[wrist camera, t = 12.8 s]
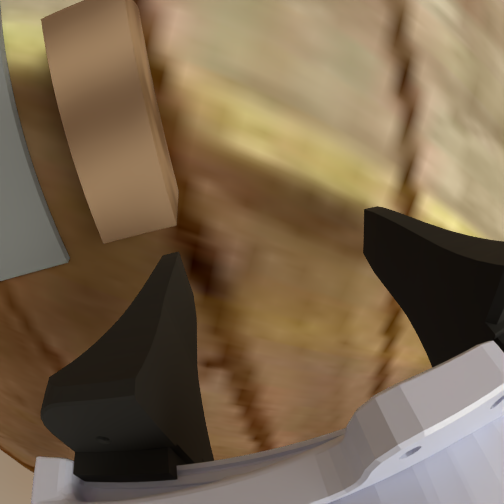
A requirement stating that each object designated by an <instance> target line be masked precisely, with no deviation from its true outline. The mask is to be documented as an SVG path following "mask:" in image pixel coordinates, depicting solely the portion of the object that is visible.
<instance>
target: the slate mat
mask: <svg viewBox="0 0 504 504" xmlns="http://www.w3.org/2000/svg"><path fill="white" fill-rule="evenodd" d="M69 259H70V257H69V255H68V253H67V251H66V248H65V246H64V244H63V242H62V240H61V237H60V235H59V233H58V230H57V228H56V226H55V223H54V221H53V218H52V216H51V213H50V211H49V208H48V206H47V203H46V201H45V198H44V195H43V193H42V190H41V187H40V184H39V182H38V179H37V176H36V173H35V170H34V167H33V164H32V161H31V158H30V155H29V151H28V148H27V145H26V141H25V138H24V135H23V131H22V127H21V124H20V120H19V116H18V112H17V108H16V104H15V99H14V95H13V90H12V86H11V81H10V76H9V70H8V65H7V59H6V52H5V45H4V38H3V30H2V20H1V8H0V281H3V280H6V279H10V278H13V277H17V276H20V275H24V274H28V273H31V272H35V271H39V270H42V269H46V268H50V267H53V266H57V265H61V264H65V263H68V261H69Z"/></svg>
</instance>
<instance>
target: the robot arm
mask: <svg viewBox="0 0 504 504" xmlns="http://www.w3.org/2000/svg"><path fill="white" fill-rule="evenodd" d="M363 253H364V255H365V257H366V259H367V261H368V262H369V264H370V266H371V268H372V269H373V271H374V273H375V274H376V275H377V277H378V278H379V279H380V280H381V282H382V283H383V284H384V286H385V287H386V288H387V290H388V291H389V292H390V293H391V295H392V296H393V297H394V299H395V300H396V301H397V303H398V304H399V305H400V307H401V308H402V309H403V311H404V312H405V314H406V315H407V317H408V318H409V320H410V322H411V324H412V326H413V327H414V329H415V331H416V333H417V335H418V337H419V339H420V341H421V343H422V345H423V347H424V349H425V351H426V353H427V355H428V358H429V360H430V362H431V365H432V367H433V368H431V369H429V370H426V371H424V372H422V373H420V374H418V375H415V376H413V377H411V378H409V379H406V380H404V381H402V382H399V383H397V384H395V385H393V386H391V387H389V388H387V389H385V390H384V391H382V392H380V393H378V394H376V395H374V396H373V397H372V398H370V399H369V400H368V401H367V402H365V403H364V404H363V405H362V406H360V407H359V408H358V409H357V410H356V412H355V413H354V415H353V416H352V418H351V419H350V421H349V423H348V425H347V427H346V428H344V429H341V430H338V431H335V432H332V433H329V434H326V435H323V436H319V437H316V438H313V439H309V440H306V441H302V442H299V443H295V444H291V445H288V446H284V447H280V448H276V449H271V450H267V451H263V452H258V453H254V454H249V455H244V456H239V457H233V458H228V459H222V460H216V461H214V458H213V454H212V450H211V446H210V441H209V436H208V432H207V427H206V422H205V417H204V411H203V405H202V400H201V393H200V387H199V380H198V370H197V320H196V310H195V303H194V296H193V292H192V289H191V287H190V284H189V281H188V278H187V275H186V272H185V269H184V266H183V263H182V260H181V257H180V254H179V252H175V253H171V254H167V255H163V256H162V258H161V259H160V261H159V262H158V264H157V266H156V267H155V269H154V271H153V272H152V274H151V275H150V277H149V279H148V280H147V282H146V283H145V285H144V287H143V288H142V290H141V291H140V292H139V294H138V295H137V297H136V298H135V299H134V301H133V302H132V304H131V305H130V306H129V308H128V309H127V310H126V311H125V313H124V314H123V315H122V316H121V317H120V318H119V320H118V321H117V322H116V323H115V324H114V325H113V326H112V327H111V328H110V329H109V330H108V331H107V332H106V333H105V334H104V335H103V336H102V337H101V338H100V339H99V340H98V341H97V342H96V343H95V344H94V345H93V346H91V347H90V348H89V349H88V350H87V351H86V352H84V353H83V354H82V355H81V356H79V357H78V358H77V359H75V360H74V361H73V362H71V363H70V364H69V365H67V366H66V367H64V368H63V369H61V370H60V371H58V372H57V373H55V374H54V375H52V376H51V377H49V381H48V384H47V388H46V392H45V396H44V400H43V404H42V408H41V419H42V421H43V423H44V425H45V426H46V428H47V429H48V430H49V431H50V432H51V433H52V434H54V435H55V436H56V437H57V438H58V439H60V440H61V441H62V442H63V443H65V444H66V445H67V446H68V447H70V448H71V449H72V450H74V451H75V459H74V461H73V460H70V459H67V458H58V457H43V456H38V457H36V464H35V471H34V479H33V488H32V498H31V504H504V242H502V241H494V240H488V239H482V238H477V237H472V236H468V235H464V234H460V233H456V232H452V231H449V230H446V229H443V228H440V227H437V226H434V225H431V224H428V223H425V222H422V221H420V220H417V219H414V218H412V217H409V216H406V215H404V214H401V213H398V212H395V211H392V210H389V209H386V208H383V207H378V206H377V207H373V208H368V209H364V248H363Z"/></svg>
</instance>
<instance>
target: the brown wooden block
mask: <svg viewBox="0 0 504 504" xmlns="http://www.w3.org/2000/svg"><path fill="white" fill-rule="evenodd" d="M41 21H42V29H43V35H44V41H45V47H46V53H47V59H48V64H49V69H50V74H51V78H52V83H53V87H54V92H55V96H56V100H57V104H58V108H59V112H60V116H61V120H62V124H63V127H64V131H65V135H66V138H67V141H68V145H69V148H70V152H71V155H72V158H73V161H74V164H75V167H76V171H77V174H78V177H79V180H80V183H81V185H82V188H83V191H84V194H85V197H86V200H87V202H88V205H89V208H90V211H91V213H92V216H93V218H94V221H95V224H96V226H97V229H98V231H99V234H100V236H101V239H102V241H103V244H105V243H108V242H112V241H116V240H120V239H124V238H128V237H132V236H135V235H139V234H143V233H147V232H151V231H155V230H159V229H164V228H168V227H172V226H176V225H177V208H178V192H179V191H178V187H177V183H176V180H175V176H174V172H173V168H172V164H171V160H170V156H169V152H168V147H167V143H166V139H165V135H164V131H163V126H162V122H161V118H160V113H159V109H158V104H157V100H156V95H155V91H154V86H153V81H152V76H151V71H150V67H149V62H148V57H147V52H146V46H145V41H144V36H143V30H142V25H141V19H140V13H139V8H138V6H137V5H136V3H135V2H134V1H133V0H84V1H81V2H79V3H76V4H74V5H71V6H69V7H67V8H64V9H62V10H60V11H58V12H55V13H53V14H51V15H49V16H47V17H45V18H43V19H41Z"/></svg>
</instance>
